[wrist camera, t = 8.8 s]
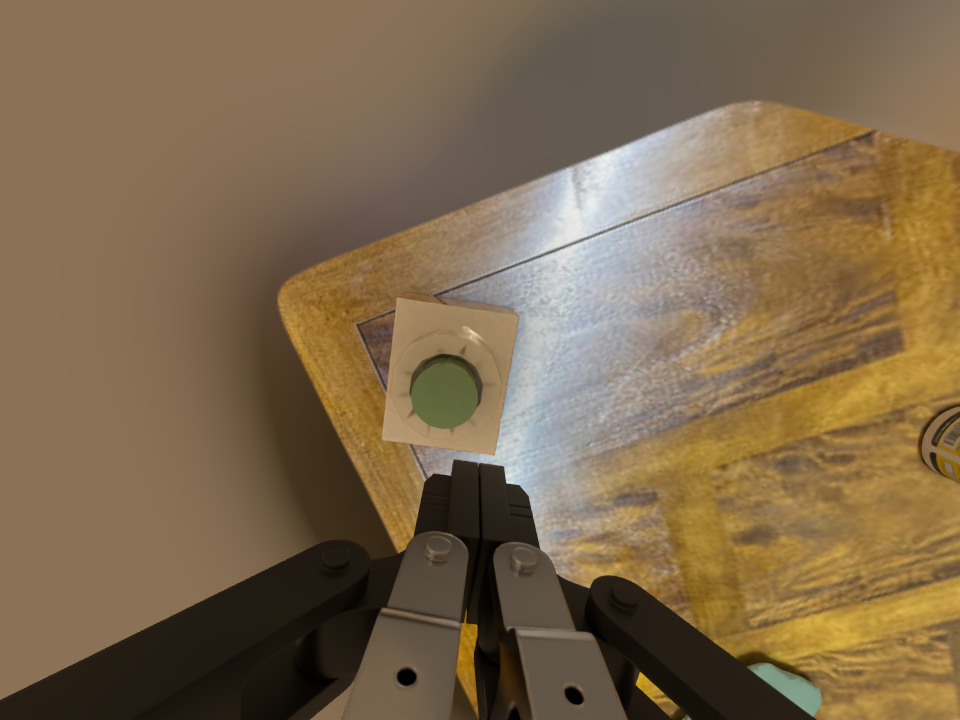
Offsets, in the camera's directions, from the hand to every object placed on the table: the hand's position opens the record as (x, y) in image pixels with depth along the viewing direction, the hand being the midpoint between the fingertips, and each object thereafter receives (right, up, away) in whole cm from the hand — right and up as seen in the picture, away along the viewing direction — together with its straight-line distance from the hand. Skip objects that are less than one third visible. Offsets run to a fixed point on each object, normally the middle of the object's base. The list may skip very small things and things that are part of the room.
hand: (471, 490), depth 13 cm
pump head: (-2, +2, +15) cm, 15 cm away
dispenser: (-2, +3, +21) cm, 21 cm away
